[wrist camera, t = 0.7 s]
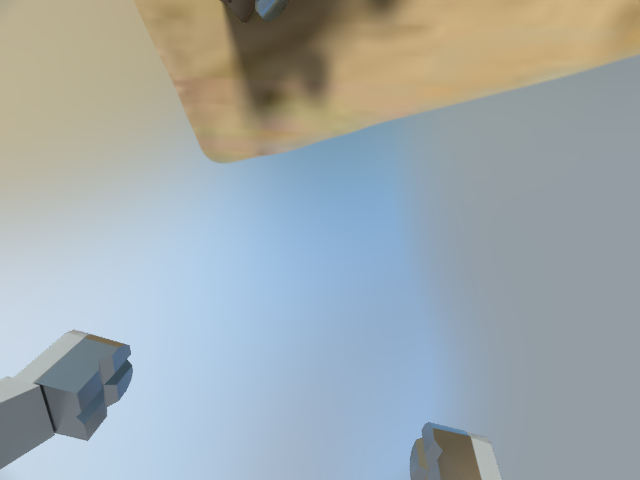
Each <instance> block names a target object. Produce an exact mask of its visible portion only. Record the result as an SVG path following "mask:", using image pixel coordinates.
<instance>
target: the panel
mask: <svg viewBox="0 0 640 480" xmlns="http://www.w3.org/2000/svg"><path fill="white" fill-rule="evenodd" d="M221 1H224V2H225V3H226V4H227V5H228V6H229V8H230V9H231V10H232V11H233V12H234V13H235V14H236V15H237V16H238V17H239V19H240V20H241V21H242V22H247V20H248V19H249V17H250V15H251V13H252V12H253V10H254V8H255V1H256V0H221Z"/></svg>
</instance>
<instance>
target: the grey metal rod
mask: <svg viewBox="0 0 640 480" xmlns="http://www.w3.org/2000/svg"><path fill="white" fill-rule="evenodd" d="M288 2H289V0H256V1H255V10H256V12H257V13H258V14H259V15H260V17H261V18H262V19H263V20H264V21H271V20H273V19H275V18H276V17H277V16H278V15H279V14H280V13H281V12H282V11H283V10H284V9H285V7H286V6H287V4H288Z"/></svg>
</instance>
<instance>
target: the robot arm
mask: <svg viewBox="0 0 640 480" xmlns="http://www.w3.org/2000/svg"><path fill="white" fill-rule="evenodd" d="M130 355H131V351H130V346H129V345H126V344H123V343H119V342H116V341H113V340H109V339H105V338H102V337H98V336H95V335H92V334H88V333H84V332H81V331H76V330H72V331H70V332H67V333H65V334H64V335H63V336H62V337H61V338H60V339H58V340H57V341H56V342H55V343H53V344H52V345H51V346H50V347H49V348H48V349H46V350H45V351H44V352H43V353H42V354H41V355H40V356H38V357H37V358H36V359H35V360H34V361H32V362H31V363H30V364H29V365H28V366H26V367H25V368H24V369H23V370H22V371H21V372H19V373H18V374H17V375H16V376H15V377H14V378H11V377H5V378H2V379H0V469H1V468H3V467H5V466H6V465H8V464H9V463H11V462H13V461H14V460H16V459H17V458H19V457H21V456H22V455H24V454H25V453H27V452H29V451H30V450H32V449H33V448H35V447H36V446H38V445H40V444H41V443H43V442H45V441H46V440H48V439H49V438H51V437H52V436H54V435H55V434H54V433H57V434H61V435H66V436H70V437H74V438H78V439H83V440H87V441H88V440H89V439H90V437H91V436H92V435H93V433H94V432H95V431H96V430H97V428H98V427H99V426H100V424H101V423H102V422H103V420H104V419H105V418H106V416H107V407H108V406H110V405H112V404H114V403H116V402H117V401H119V400H120V398H121V397H122V396H123V394H124V393H125V392H126V390H127V388H128V386H129V383H130V381H131V378H132V373H133V369H132V365H131V363H130V362H129V361H128V360H127V358H128V357H129V356H130ZM422 436H423V437H422V438H420V439H417V440H416V441H415V443H414V445H413V448H412V452H411V457H410V476H411V480H502V477H501V474H500V471H499V467H498V464H497V462H496V458H495V455H494V452H493V449H492V445H491V443H490V441H489V439H488V438H487V437H484V436H480V435H476V434H472V433H468V432H465V431H463V430H459V429H454V428H450V427H446V426H442V425H438V424H434V423H429V422H428V423H426V424H425V425H424V427H423V429H422Z"/></svg>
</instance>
